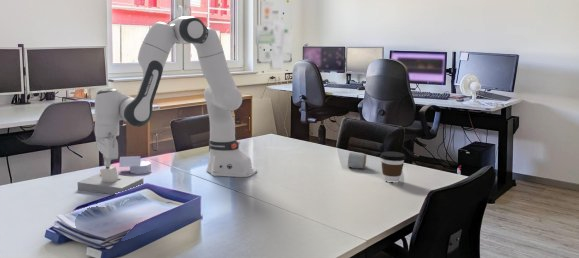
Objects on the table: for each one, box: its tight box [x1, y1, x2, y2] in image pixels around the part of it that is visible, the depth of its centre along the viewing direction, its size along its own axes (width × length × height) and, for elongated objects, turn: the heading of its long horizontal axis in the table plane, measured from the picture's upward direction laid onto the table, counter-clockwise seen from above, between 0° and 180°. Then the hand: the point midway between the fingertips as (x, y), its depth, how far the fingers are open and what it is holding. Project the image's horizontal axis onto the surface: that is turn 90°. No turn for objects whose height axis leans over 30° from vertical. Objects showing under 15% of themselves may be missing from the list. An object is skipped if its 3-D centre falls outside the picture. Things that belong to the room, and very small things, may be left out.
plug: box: [99, 165, 119, 183], centre depth 195 cm, size 4×4×8 cm
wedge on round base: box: [118, 155, 152, 175], centre depth 219 cm, size 9×7×13 cm
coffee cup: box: [379, 151, 407, 182], centre depth 213 cm, size 11×11×12 cm
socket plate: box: [77, 172, 144, 195], centre depth 195 cm, size 20×14×4 cm
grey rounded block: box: [347, 151, 367, 169], centre depth 235 cm, size 11×8×8 cm
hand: (107, 165), depth 194 cm, fingers closed, pressing on plug
